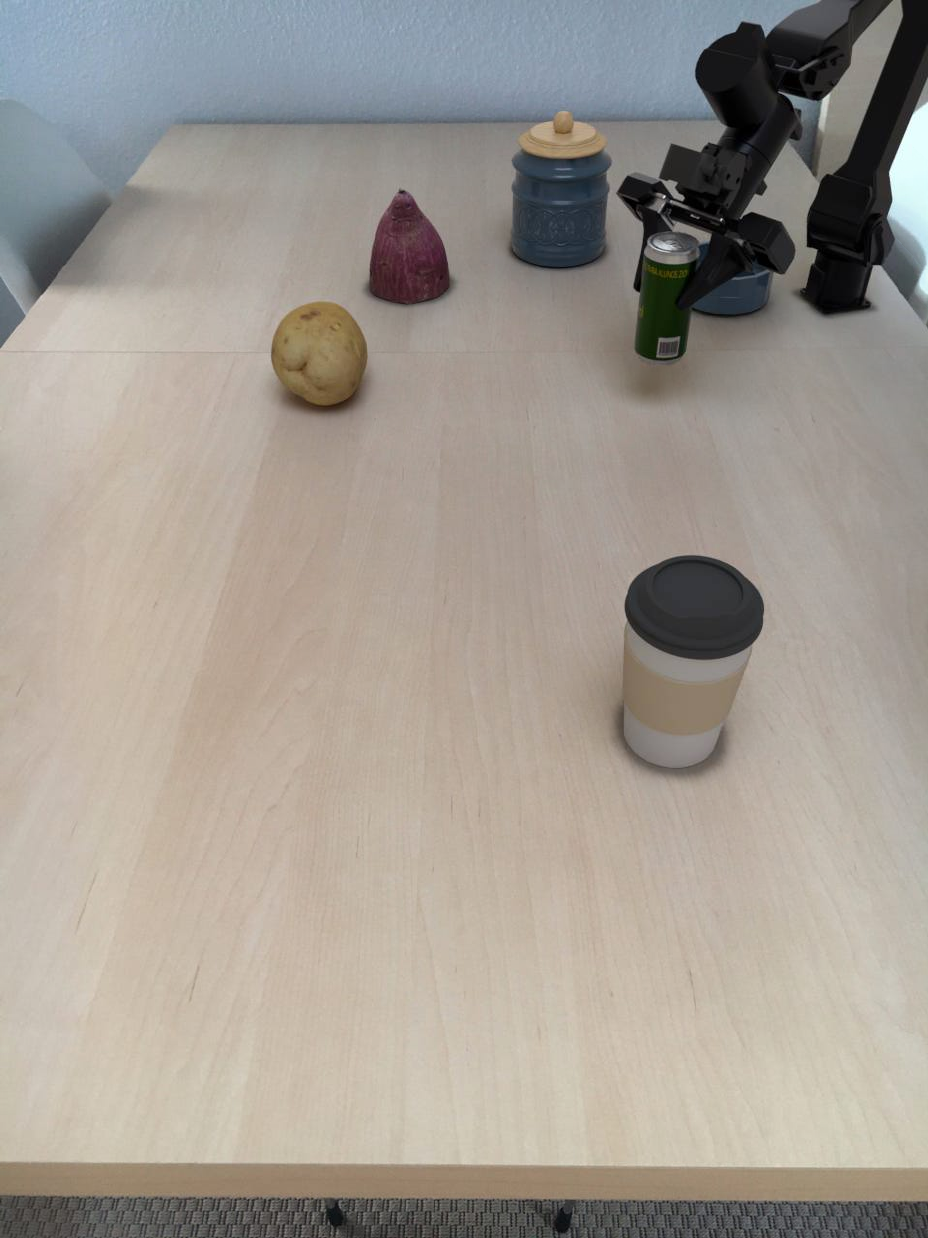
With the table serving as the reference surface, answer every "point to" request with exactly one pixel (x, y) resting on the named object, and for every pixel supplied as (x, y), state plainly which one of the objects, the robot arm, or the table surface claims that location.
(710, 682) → the coffee cup
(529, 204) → the canister
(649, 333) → the beer can
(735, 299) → the bowl
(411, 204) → the vegetable
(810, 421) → the table surface
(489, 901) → the table surface
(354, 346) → the potato
